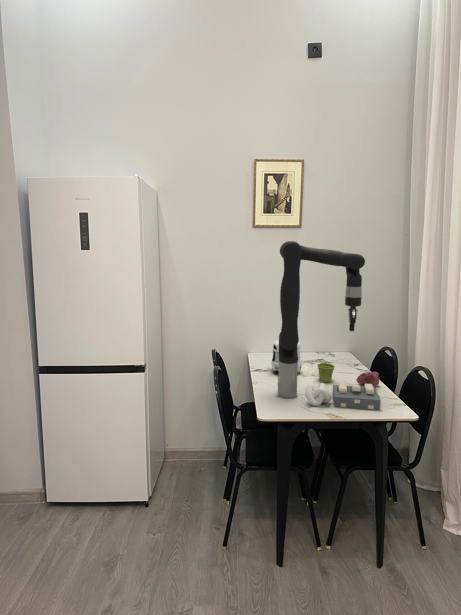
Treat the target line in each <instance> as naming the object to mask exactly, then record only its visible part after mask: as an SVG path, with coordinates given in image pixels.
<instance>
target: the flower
mask: <svg viewBox="0 0 461 615" xmlns="http://www.w3.org/2000/svg"><path fill="white" fill-rule="evenodd" d="M379 375H380V374H379V372H377V371H367V372H363V373H360V374H359V375H358V376H357V377H356V382H357V384H358V385H365V384H372V386H373V387H378V386H379V384H380V376H379Z"/></svg>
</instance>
